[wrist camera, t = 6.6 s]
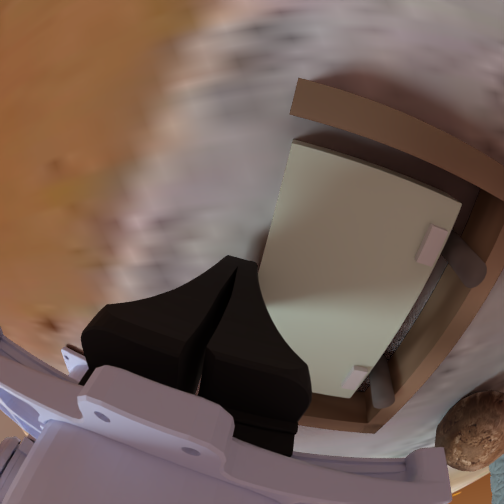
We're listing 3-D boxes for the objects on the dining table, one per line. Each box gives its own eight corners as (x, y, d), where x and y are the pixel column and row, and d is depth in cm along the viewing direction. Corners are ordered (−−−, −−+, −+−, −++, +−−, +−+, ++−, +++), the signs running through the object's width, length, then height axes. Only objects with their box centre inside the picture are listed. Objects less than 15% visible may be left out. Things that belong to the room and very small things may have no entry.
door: (348, 373, 17) (350, 402, 15) (238, 348, 17) (229, 377, 15) (442, 189, 11) (465, 206, 9) (293, 138, 11) (291, 143, 9)
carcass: (371, 403, 17) (374, 439, 15) (225, 375, 18) (213, 413, 15) (505, 173, 9) (543, 193, 7) (298, 84, 10) (298, 76, 7)
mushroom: (524, 426, 13) (516, 476, 9) (452, 440, 19) (432, 486, 15) (520, 357, 14) (518, 406, 10) (439, 380, 20) (418, 425, 16)
